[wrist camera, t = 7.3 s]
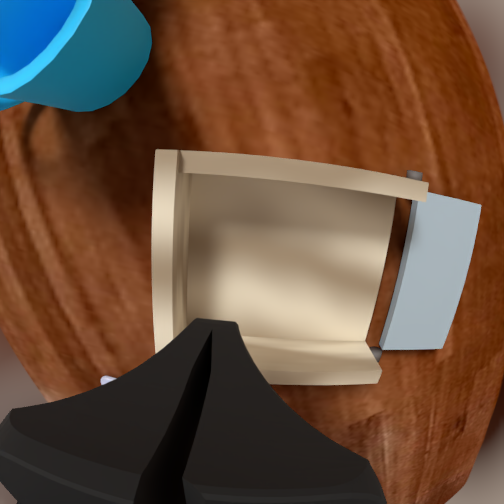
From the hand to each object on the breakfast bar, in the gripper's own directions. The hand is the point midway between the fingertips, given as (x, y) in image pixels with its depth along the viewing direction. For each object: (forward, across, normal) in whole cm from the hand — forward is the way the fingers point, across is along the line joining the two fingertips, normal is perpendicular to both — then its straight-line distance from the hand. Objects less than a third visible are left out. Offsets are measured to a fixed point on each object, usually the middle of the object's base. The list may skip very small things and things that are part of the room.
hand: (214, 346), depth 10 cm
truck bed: (+10, -3, 0) cm, 10 cm away
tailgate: (+9, -11, 0) cm, 14 cm away
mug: (+10, +12, -12) cm, 20 cm away
